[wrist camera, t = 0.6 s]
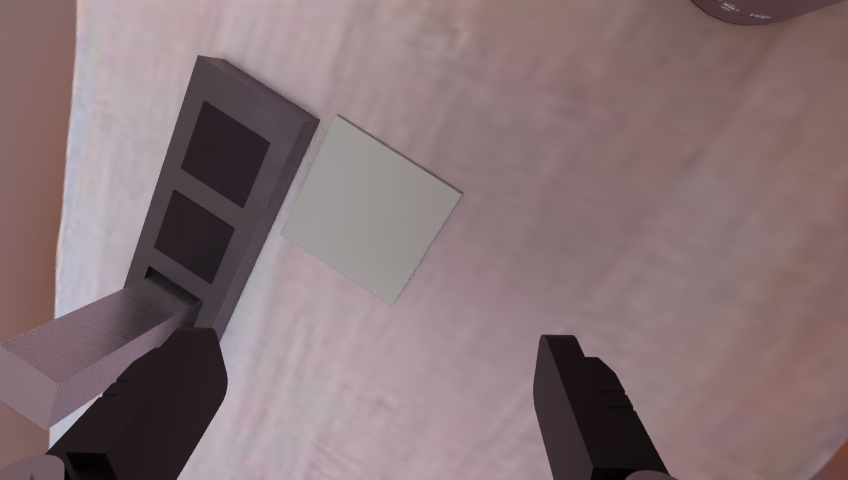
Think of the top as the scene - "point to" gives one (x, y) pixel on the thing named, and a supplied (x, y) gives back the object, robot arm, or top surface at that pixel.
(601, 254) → the top surface
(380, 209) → the mat
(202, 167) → the dark grey slotted tray
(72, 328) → the steel plug
